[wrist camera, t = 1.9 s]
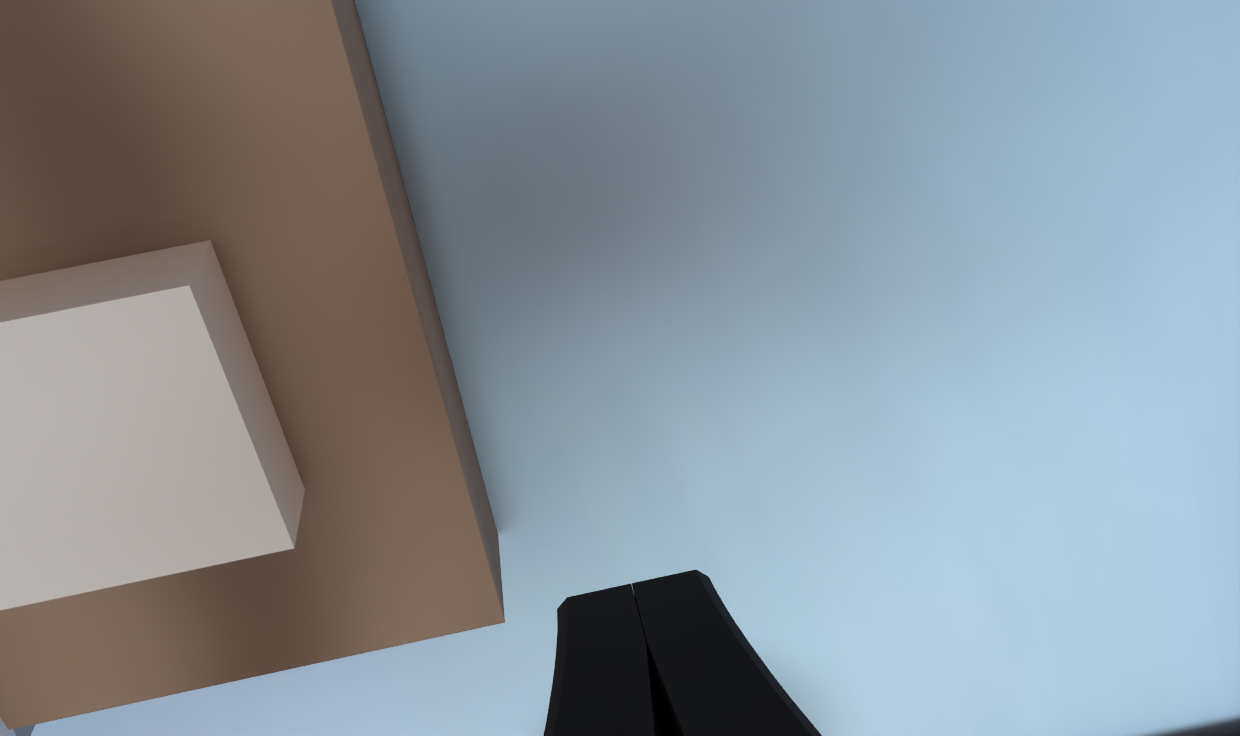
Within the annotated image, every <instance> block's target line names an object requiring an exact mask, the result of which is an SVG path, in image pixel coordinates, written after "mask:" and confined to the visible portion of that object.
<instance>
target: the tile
mask: <svg viewBox="0 0 1240 736" xmlns="http://www.w3.org/2000/svg"><path fill="white" fill-rule="evenodd" d="M304 493H305V488H304V486H303V483H302V480H301V478H300V475H299V473H298V470H297V467H296V465H295V462H294V459H293V457H292V454H291V451H290V449H289V446H288V444H287V441H286V438H285V436H284V433H283V430H282V428H281V425H280V422H279V420H278V417H277V415H276V412H275V409H274V407H273V404H272V401H271V399H270V396H269V393H268V391H267V388H266V385H265V383H264V380H263V378H262V375H261V372H260V370H259V367H258V364H257V362H256V359H255V356H254V354H253V351H252V349H251V346H250V343H249V341H248V338H247V335H246V333H245V330H244V327H243V325H242V322H241V320H240V317H239V314H238V312H237V309H236V306H235V304H234V301H233V298H232V296H231V293H230V290H229V288H228V285H227V283H226V280H225V277H224V275H223V272H222V269H221V267H220V264H219V261H218V259H217V256H216V254H215V251H214V248H213V246H212V243H211V240H208V241H203V242H198V243H193V244H187V245H182V246H177V247H172V248H167V249H162V250H157V251H152V252H146V253H141V254H136V255H131V256H126V257H121V258H116V259H111V260H105V261H100V262H95V263H90V264H85V265H80V266H75V267H70V268H64V269H59V270H54V271H49V272H44V273H39V274H34V275H29V276H23V277H18V278H13V279H8V280H3V281H0V610H5V609H10V608H14V607H19V606H24V605H29V604H33V603H38V602H43V601H48V600H52V599H57V598H62V597H67V596H71V595H76V594H81V593H85V592H90V591H95V590H100V589H104V588H109V587H114V586H119V585H123V584H128V583H133V582H138V581H142V580H147V579H152V578H157V577H161V576H166V575H171V574H175V573H180V572H185V571H190V570H194V569H199V568H204V567H209V566H213V565H218V564H223V563H228V562H232V561H237V560H242V559H247V558H251V557H256V556H261V555H265V554H270V553H275V552H280V551H284V550H289V549H294V548H295V543H296V537H297V532H298V526H299V520H300V515H301V509H302V504H303V498H304Z"/></svg>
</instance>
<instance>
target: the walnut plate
mask: <svg viewBox="0 0 1240 736" xmlns="http://www.w3.org/2000/svg"><path fill="white" fill-rule="evenodd" d="M208 240H211V243H212V246H213V248H214V251H215V254H216V256H217V259H218V261H219V264H220V267H221V269H222V272H223V275H224V277H225V280H226V283H227V285H228V288H229V290H230V293H231V296H232V298H233V301H234V304H235V306H236V309H237V312H238V314H239V317H240V320H241V322H242V325H243V327H244V330H245V333H246V335H247V338H248V341H249V343H250V346H251V349H252V351H253V354H254V356H255V359H256V362H257V364H258V367H259V370H260V372H261V375H262V378H263V380H264V383H265V385H266V388H267V391H268V393H269V396H270V399H271V401H272V404H273V407H274V409H275V412H276V415H277V417H278V420H279V422H280V425H281V428H282V430H283V433H284V436H285V438H286V441H287V444H288V446H289V449H290V451H291V454H292V457H293V459H294V462H295V465H296V467H297V470H298V473H299V475H300V478H301V480H302V483H303V486H304V488H305V493H304V498H303V504H302V509H301V515H300V520H299V526H298V532H297V537H296V543H295V548H294V549H289V550H284V551H280V552H275V553H270V554H265V555H261V556H256V557H251V558H247V559H242V560H237V561H232V562H228V563H223V564H218V565H213V566H209V567H204V568H199V569H194V570H190V571H185V572H180V573H175V574H171V575H166V576H161V577H157V578H152V579H147V580H142V581H138V582H133V583H128V584H123V585H119V586H114V587H109V588H104V589H100V590H95V591H90V592H85V593H81V594H76V595H71V596H67V597H62V598H57V599H52V600H48V601H43V602H38V603H33V604H29V605H24V606H19V607H14V608H10V609H5V610H0V718H1V719H2V721H3V722H4V724H5V725H6V727H7V728H8V730H11V729H15V728H20V727H25V726H29V725H34V724H38V723H43V722H48V721H52V720H57V719H62V718H66V717H71V716H75V715H80V714H85V713H89V712H94V711H98V710H103V709H108V708H112V707H117V706H121V705H126V704H131V703H135V702H140V701H144V700H149V699H154V698H158V697H163V696H168V695H172V694H177V693H181V692H186V691H191V690H195V689H200V688H204V687H209V686H214V685H218V684H223V683H227V682H232V681H237V680H241V679H246V678H250V677H255V676H260V675H264V674H269V673H274V672H278V671H283V670H287V669H292V668H297V667H301V666H306V665H310V664H315V663H320V662H324V661H329V660H333V659H338V658H343V657H347V656H352V655H356V654H361V653H366V652H370V651H375V650H380V649H384V648H389V647H393V646H398V645H403V644H407V643H412V642H416V641H421V640H426V639H430V638H435V637H439V636H444V635H449V634H453V633H458V632H463V631H467V630H472V629H476V628H481V627H486V626H490V625H495V624H499V623H504V622H505V619H504V606H503V593H502V580H501V567H500V555H499V542H498V534H497V530H496V527H495V523H494V519H493V515H492V512H491V508H490V504H489V501H488V497H487V493H486V489H485V486H484V482H483V478H482V474H481V471H480V467H479V463H478V460H477V456H476V452H475V448H474V445H473V441H472V437H471V434H470V430H469V426H468V422H467V419H466V415H465V411H464V407H463V404H462V400H461V396H460V393H459V389H458V385H457V381H456V378H455V374H454V370H453V366H452V363H451V359H450V355H449V352H448V348H447V344H446V340H445V337H444V333H443V329H442V325H441V322H440V318H439V314H438V311H437V307H436V303H435V299H434V296H433V292H432V288H431V285H430V281H429V277H428V273H427V270H426V266H425V262H424V258H423V255H422V251H421V247H420V244H419V240H418V236H417V232H416V229H415V225H414V221H413V217H412V214H411V210H410V206H409V203H408V199H407V195H406V191H405V188H404V184H403V180H402V176H401V173H400V169H399V165H398V162H397V158H396V154H395V150H394V147H393V143H392V139H391V136H390V132H389V128H388V124H387V121H386V117H385V113H384V109H383V106H382V102H381V98H380V95H379V91H378V87H377V83H376V80H375V76H374V72H373V68H372V65H371V61H370V57H369V54H368V50H367V46H366V42H365V39H364V35H363V31H362V28H361V24H360V20H359V16H358V13H357V9H356V5H355V1H354V0H0V281H3V280H8V279H13V278H18V277H23V276H29V275H34V274H39V273H44V272H49V271H54V270H59V269H64V268H70V267H75V266H80V265H85V264H90V263H95V262H100V261H105V260H111V259H116V258H121V257H126V256H131V255H136V254H141V253H146V252H152V251H157V250H162V249H167V248H172V247H177V246H182V245H187V244H193V243H198V242H203V241H208Z"/></svg>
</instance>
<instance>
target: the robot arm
mask: <svg viewBox="0 0 1240 736" xmlns="http://www.w3.org/2000/svg"><path fill="white" fill-rule="evenodd" d="M632 586H633V589H632ZM633 591H634V593H633ZM634 596H635V597H634ZM557 618H558V633H557V648H556V660H555V669H554V677H553V684H552V691H551V697H550V703H549V709H548V715H547V721H546V727H545V731H544V736H822V735H821V734H820V733H819V732H818V730H817V729H816V728H815V727H814V726H813V724H812V723H811V722H810V721H809V720H808V718H807V717H806V716H805V715H804V714H803V712H802V711H801V710H800V709H799V708H798V706H797V705H796V704H795V703H794V702H793V700H792V699H791V698H790V697H789V695H788V694H787V693H786V692H785V690H784V689H783V688H782V686H781V685H780V684H779V683H778V681H777V680H776V679H775V677H774V676H773V675H772V673H771V672H770V671H769V669H768V668H767V667H766V665H765V664H764V663H763V661H762V660H761V658H760V657H759V656H758V654H757V653H756V652H755V650H754V649H753V647H752V646H751V645H750V643H749V642H748V640H747V639H746V638H745V636H744V635H743V633H742V632H741V630H740V629H739V627H738V626H737V624H736V623H735V621H734V620H733V618H732V617H731V615H730V613H729V612H728V610H727V609H726V607H725V605H724V604H723V602H722V600H721V599H720V597H719V595H718V594H717V592H716V590H715V588H714V586H713V584H712V582H711V580H710V578H709V577H708V576H706V575H705V574H703V573H701V572H699V571H698V570H692V571H687V572H683V573H678V574H673V575H669V576H664V577H659V578H655V579H650V580H646V581H641V582H636V583H632V585H631V584H627V585H622V586H618V587H613V588H609V589H604V590H599V591H595V592H590V593H585V594H581V595H576V596H572V597H567V598H566V600H565V601H564V602H563V603H562V604H561V605H560V607H559V608H558V609H557Z"/></svg>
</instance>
